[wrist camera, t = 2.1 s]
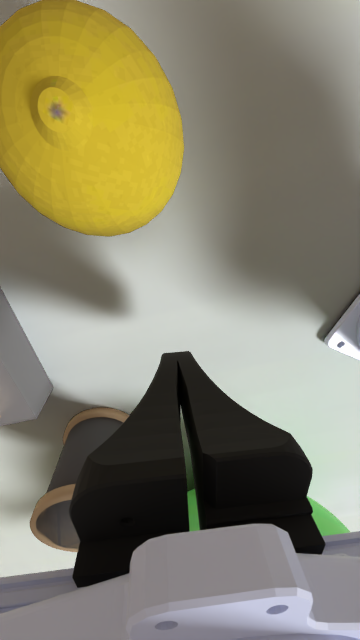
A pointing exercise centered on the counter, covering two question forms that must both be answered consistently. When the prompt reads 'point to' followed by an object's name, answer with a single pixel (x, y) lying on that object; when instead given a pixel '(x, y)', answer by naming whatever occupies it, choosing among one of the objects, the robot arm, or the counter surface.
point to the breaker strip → (19, 371)
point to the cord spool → (71, 475)
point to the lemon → (86, 119)
